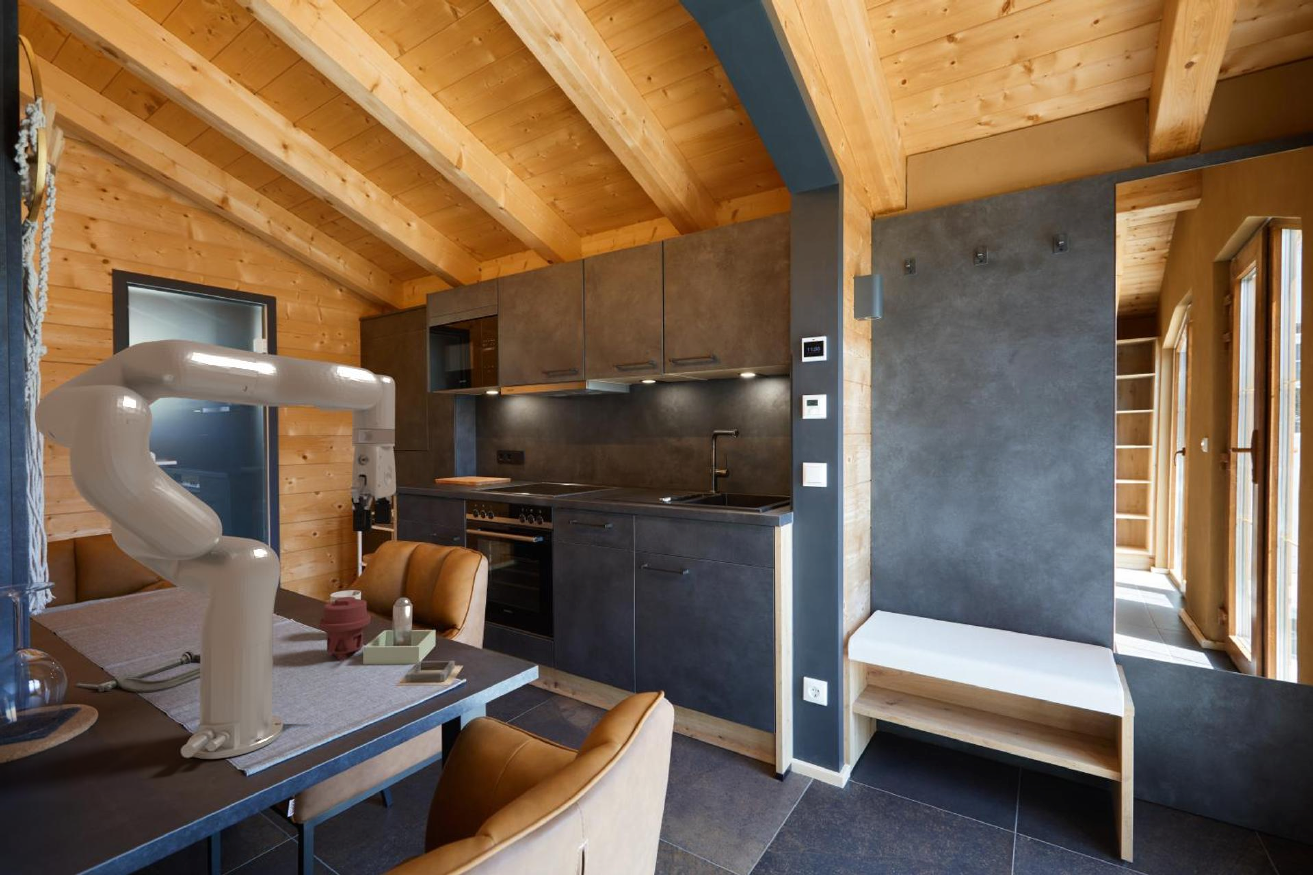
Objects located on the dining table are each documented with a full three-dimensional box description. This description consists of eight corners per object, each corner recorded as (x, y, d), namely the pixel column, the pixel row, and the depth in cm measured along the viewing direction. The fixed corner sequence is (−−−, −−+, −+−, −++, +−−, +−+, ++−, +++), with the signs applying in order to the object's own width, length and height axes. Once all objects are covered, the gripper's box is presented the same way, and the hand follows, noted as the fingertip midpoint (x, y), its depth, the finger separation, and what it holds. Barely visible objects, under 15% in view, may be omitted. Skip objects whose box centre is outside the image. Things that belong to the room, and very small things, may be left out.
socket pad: (449, 691, 118) (449, 676, 118) (395, 691, 117) (395, 677, 117) (463, 671, 128) (463, 658, 128) (413, 671, 127) (413, 658, 127)
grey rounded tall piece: (392, 661, 130) (394, 601, 131) (386, 655, 134) (388, 596, 135) (416, 657, 133) (417, 598, 134) (410, 651, 137) (411, 594, 137)
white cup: (366, 633, 151) (367, 592, 151) (340, 641, 145) (341, 598, 145) (350, 629, 154) (350, 588, 154) (324, 636, 149) (324, 594, 149)
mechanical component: (346, 666, 130) (307, 660, 133) (380, 650, 139) (344, 645, 142) (346, 606, 130) (308, 602, 133) (380, 595, 139) (344, 591, 142)
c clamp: (130, 705, 112) (130, 689, 112) (74, 689, 118) (75, 674, 118) (242, 666, 130) (242, 653, 130) (189, 655, 137) (189, 642, 137)
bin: (418, 669, 128) (419, 646, 128) (363, 669, 128) (363, 647, 128) (435, 650, 140) (435, 630, 140) (384, 650, 139) (384, 630, 139)
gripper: (375, 439, 112) (374, 534, 112) (408, 438, 130) (408, 521, 130) (332, 438, 112) (332, 534, 112) (372, 438, 129) (371, 521, 129)
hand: (372, 527), depth 121 cm, fingers open, 9 cm apart
